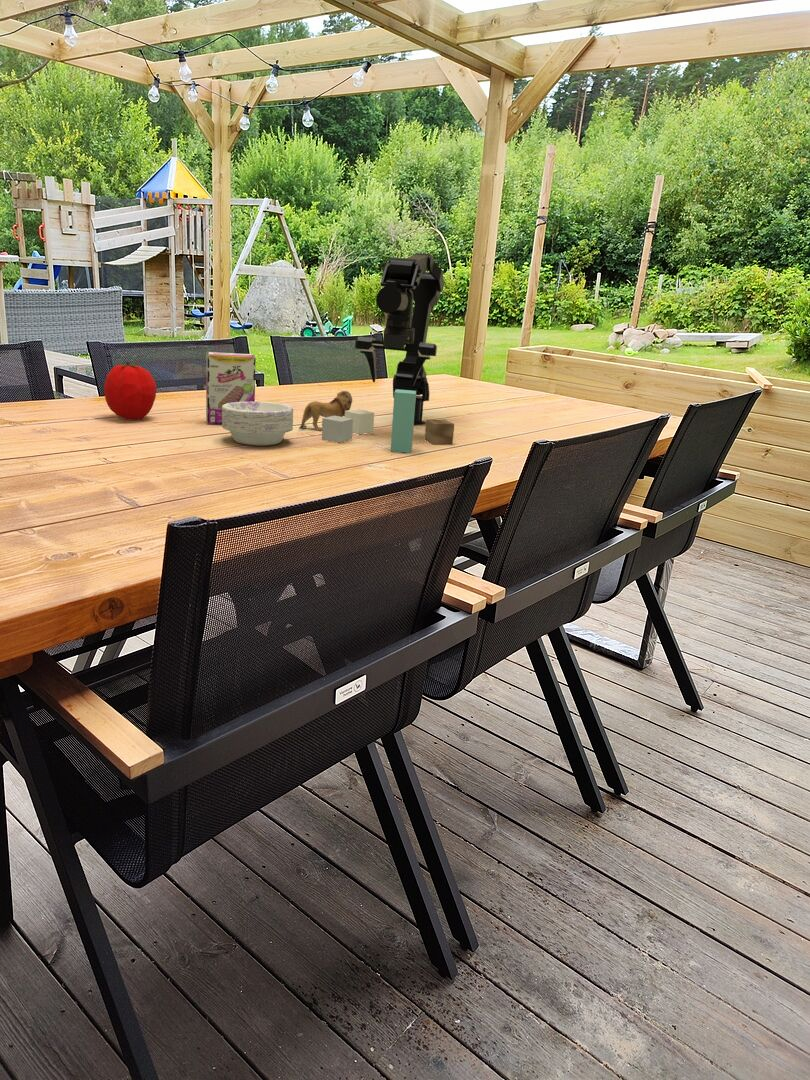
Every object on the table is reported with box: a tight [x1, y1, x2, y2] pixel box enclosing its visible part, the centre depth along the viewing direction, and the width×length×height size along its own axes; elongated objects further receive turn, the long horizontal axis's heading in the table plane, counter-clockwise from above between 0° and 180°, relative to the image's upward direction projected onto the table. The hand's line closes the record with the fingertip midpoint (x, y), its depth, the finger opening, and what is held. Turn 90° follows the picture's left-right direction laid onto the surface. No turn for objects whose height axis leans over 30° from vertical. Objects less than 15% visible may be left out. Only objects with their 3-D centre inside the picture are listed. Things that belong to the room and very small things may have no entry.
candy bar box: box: [205, 351, 257, 425], centre depth 182 cm, size 11×5×16 cm, turn 108°
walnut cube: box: [424, 419, 455, 446], centre depth 181 cm, size 5×5×5 cm
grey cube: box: [321, 416, 353, 444], centre depth 175 cm, size 5×5×5 cm
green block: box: [390, 389, 416, 454], centre depth 168 cm, size 4×4×13 cm
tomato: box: [103, 361, 158, 421], centre depth 179 cm, size 12×12×13 cm
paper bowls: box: [221, 401, 294, 447], centre depth 167 cm, size 15×15×8 cm
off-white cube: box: [344, 408, 375, 435], centre depth 185 cm, size 5×5×5 cm
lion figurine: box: [298, 390, 353, 432], centre depth 185 cm, size 15×5×9 cm, turn 130°
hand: (393, 384), depth 181 cm, fingers open, 9 cm apart
